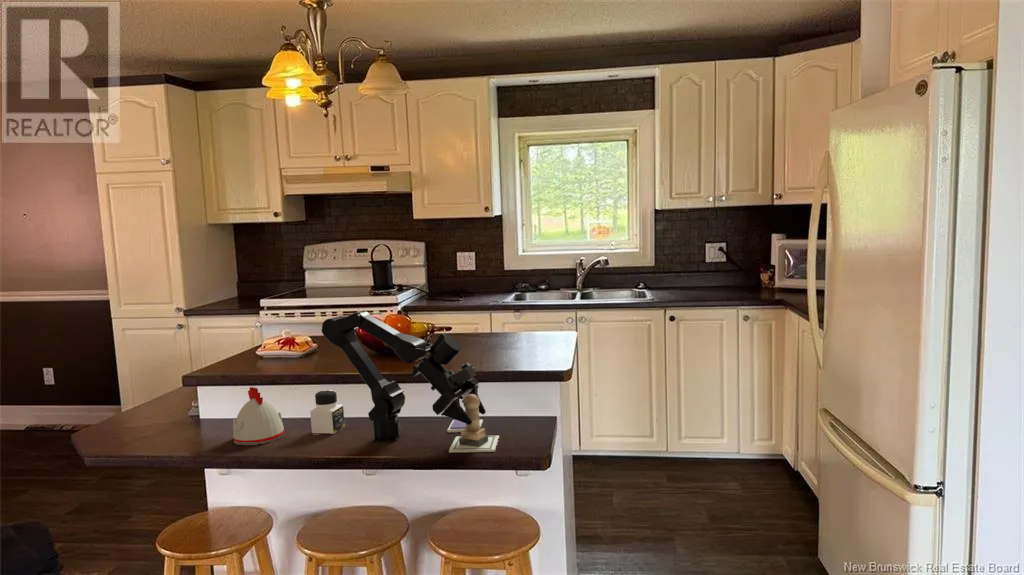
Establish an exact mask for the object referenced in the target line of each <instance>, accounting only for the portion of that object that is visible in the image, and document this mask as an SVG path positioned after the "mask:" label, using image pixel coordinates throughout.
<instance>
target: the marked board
mask: <svg viewBox="0 0 1024 575" xmlns="http://www.w3.org/2000/svg"><path fill="white" fill-rule="evenodd" d="M460 438H462V435H460V436H455V438H454V440H453V442H452V443H451V445H450V447H449V449H448V453H449V454H450V453H485V452H487V453H491V452H492V453H495V452H496V449H497V447H498V443H499V440H500V435H488V441H487V442H486V443H484V444H483V445H481V446H480V447H476V446H468V445H459V439H460ZM498 439H499V440H498ZM496 446H497V447H496Z"/></svg>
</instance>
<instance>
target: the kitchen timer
mask: <svg viewBox="0 0 1024 575" xmlns="http://www.w3.org/2000/svg"><path fill="white" fill-rule="evenodd" d="M247 394H248V397H249V400H248V401H247V402H246V403H245V404H244V405H243V406H242V407H241V408H240V410H239V411H238V414H237V416H236V418H235V417H234V418H233V421H232V431H233V433H232V440H233V439H234V440H235V441H238V442H260V441H266V440H271V439H274V438H277V437H279V436H281V435H282V434H283V433H284V434H285V428H284V424H283V419H282V414H281V412H280V411H277V409H276V408H275V407H274V405H273V404H272V403H270V402H269V401H267V400H266V399H264V397H263V396H262V397H261V392H259V389H258V387H255V386H254V387H253V386H249V390H247Z"/></svg>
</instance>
